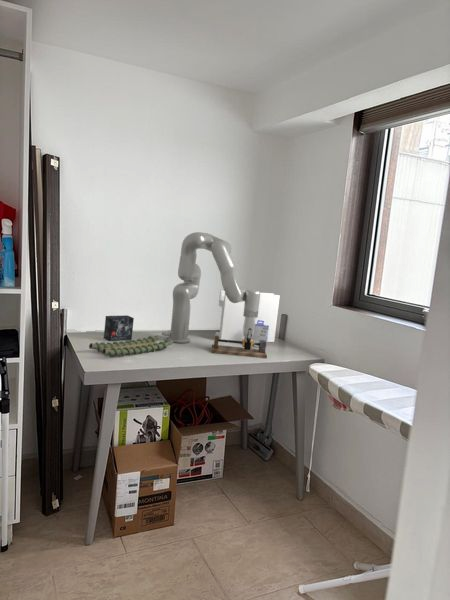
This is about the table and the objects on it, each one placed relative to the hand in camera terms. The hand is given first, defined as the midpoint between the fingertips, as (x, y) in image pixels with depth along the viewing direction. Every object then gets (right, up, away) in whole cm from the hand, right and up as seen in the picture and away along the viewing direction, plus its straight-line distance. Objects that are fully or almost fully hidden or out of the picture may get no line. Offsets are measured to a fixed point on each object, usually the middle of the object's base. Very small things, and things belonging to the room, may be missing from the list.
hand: (246, 348), depth 241 cm
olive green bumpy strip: (-56, 0, -18) cm, 58 cm away
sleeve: (0, +1, 0) cm, 1 cm away
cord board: (-4, -2, 0) cm, 5 cm away
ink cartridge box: (+7, -1, +20) cm, 21 cm away
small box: (-67, +4, +1) cm, 67 cm away
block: (0, +1, +32) cm, 32 cm away
